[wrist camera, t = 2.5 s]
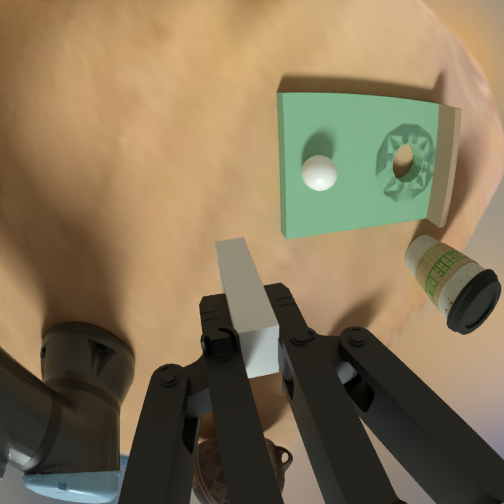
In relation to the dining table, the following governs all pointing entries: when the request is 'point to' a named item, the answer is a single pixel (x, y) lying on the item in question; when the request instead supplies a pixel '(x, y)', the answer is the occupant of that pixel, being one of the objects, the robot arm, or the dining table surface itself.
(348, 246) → the dining table surface
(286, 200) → the putting platform
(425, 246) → the coffee cup
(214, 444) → the vase
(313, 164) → the ball
